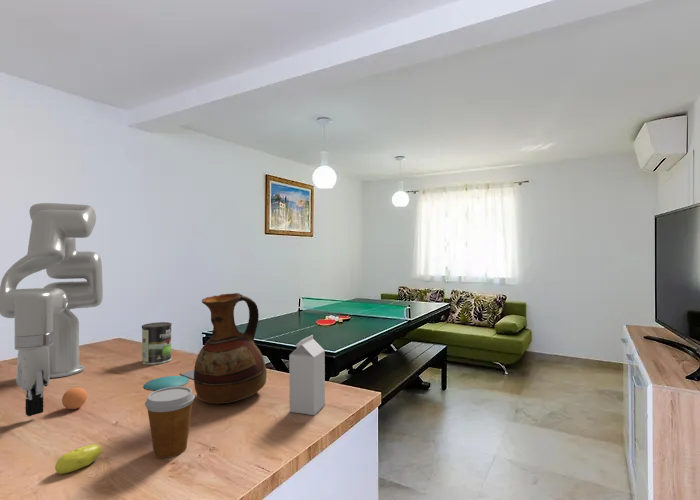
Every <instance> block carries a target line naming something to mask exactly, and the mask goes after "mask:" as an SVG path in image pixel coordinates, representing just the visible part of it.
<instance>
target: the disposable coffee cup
mask: <svg viewBox="0 0 700 500" xmlns="http://www.w3.org/2000/svg"><path fill="white" fill-rule="evenodd" d="M194 400H195V394H194V392H193V389H192V388H191V387H188V386H177V387H168V388H163V389H159V390H153V392H151V393H149V394H148V395H147V398H146V401H145V402H144V405H145V408H146V409H147V412H148V421H149V429H150V435H151V441H152V447H153V448H152V449H153V456H155V457H156V458H160V459H165V458H172V457H176V456H178V455H180V454H182V453H184V452H185V451H186V449H187V447H188V439H189V430H190V422H191V416H192V414H191V413H192V406H193V402H194Z"/></svg>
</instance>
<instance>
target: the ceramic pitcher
mask: <svg viewBox="0 0 700 500" xmlns="http://www.w3.org/2000/svg"><path fill="white" fill-rule="evenodd" d="M242 301H244V302H245V303H246V305H247V307H248V322H247V326H246V329H245V331H244V332H240V331H239V330H238V328H237V325H236V322H235V307H236V305H237V303H239V302H242ZM201 302H202V304H203V305H205V307H207V308H208V310H209V311H210V322H211V324H212V326H213V327H212V328H213V329H212V333H211V337H210V338H209V339H208V340H207V341H206V342H205V343H204V345H203V346H202V347H201V348H200V351H198V354H197V357H196V359H195V362H194V363H195V364H194V369H193V370H194V380H193V386H194V389H195V392H196V395H197V397H198V398H199V399H200V400H201V401H202V402H205V403H209V404H227V403H228V404H230V403H233V402H237V401H241V400H242V399H243V400H244V399H245V398H249V397H251V396H253V395H255V394H257V393H258V392H260V390H261V389H262V388H263V387H264V386H265V385H266V383H267V366H266V363H265V360H264V356H263V353H262V352H261V350H260V348H259V347H258V346H257V345H256V343H255V336H256V333H257V328H258V323H259V318H260V317H259V316H260V315H259V307H258V305H257V304H256V302H255V301H254V300H253V299H252V298H250V297H248V296H246V295H243V294H241V293H239V292H234V293H233V292H232V293H225V294H224V293H222V294H220V295H219V294H218V295H211V296H207V297H205V298H202V299H201Z"/></svg>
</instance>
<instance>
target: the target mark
mask: <svg viewBox="0 0 700 500" xmlns="http://www.w3.org/2000/svg"><path fill="white" fill-rule="evenodd" d="M189 379H190V378H188V377H185V376H183V375H169V376H168V375H167V376H162V377H158V378H153V379H151V380H149V381H147V382H145V383H144V384H143V388H144V389H146V390H148V391H157V390H159V389H163V388H168V387H177V386H182V387H184V385H186V384H188V383H189V382H190V380H189Z"/></svg>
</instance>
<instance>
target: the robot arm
mask: <svg viewBox="0 0 700 500" xmlns="http://www.w3.org/2000/svg"><path fill="white" fill-rule="evenodd" d="M29 207H30V208H29V212H28V213H29V217H30V220H31V224H30V225H31V226H30V233H29V240H28V246H27V253H26V255H24V256H23V257H21V258H20V259H19V260H17V261H15V263H14V264H12V265H11V266H10V267H9V269H8V270H6V272H5V273H4V275H3V277H2V279H1V282H0V316H2V317H4V318H6V319H14V350H15V351H16V350H17V356H16V358H17V359H16V360H17V361H16V377H15V380H16V385H17V386H18V387H19V388H20V389H22V391H25V415H26V416H27V417H33V416H34V415H39V414H42V413H44V387H48V386H49V384H50V379H51V378H52V379H53V378H62V377H66V376H73V375H75V374H79V373H80V372H82V371H84V370H85V365H84V364H80V322H79V318H78V316H76V314H74V313H73V312H72V311H71V310H73V309H86V308H87V309H88V308H96V307H99V306H100V305H101V304H102V302H103V297H104V295H103V293H104V290H103V289H104V288H103V287H104V286H103V265H102V259H101V256H100V254H98V253H97V252H95V251H78V250H77V247H76V246H77V245H76V238H77V239H84V238H88V237H90V236H91V234H92V232H93V230H94V228H95V225H96V219H97V213H96V211H95V209H94V207H92V206H91V205H88V204H74V203H56V202H55V203H54V202H42V203H41V202H39V203H35V204H32V205H31V206H29ZM44 270H46V275H47V276H48V278H51V279H55V280H69V279H70V280H72V279H74V280H75V279H78V280H79V279H84V281H83V280H82V281H74V280H73V281H57V282H51V283H48V284H46V285H45V286H44V287H42V288H41V287H37V288H34V287H33V288H18V289H17V286H18V285H19V283H20V282H22V280H24V279H25V278H27V277H29V276H30V275H33V274H36V273H38V272H41V271H44ZM85 280H86V281H85Z"/></svg>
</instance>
